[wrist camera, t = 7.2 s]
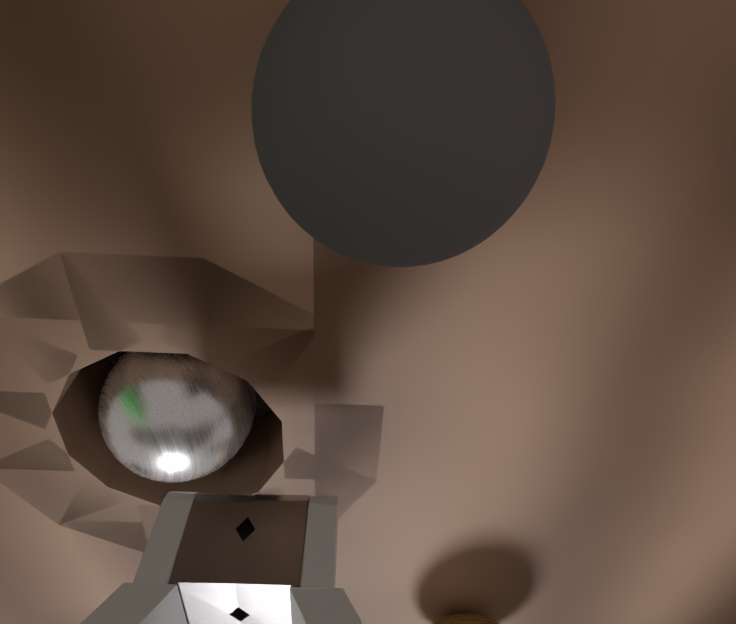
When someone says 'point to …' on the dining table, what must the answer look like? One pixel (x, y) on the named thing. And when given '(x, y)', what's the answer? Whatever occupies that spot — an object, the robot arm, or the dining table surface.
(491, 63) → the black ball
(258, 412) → the dining table surface
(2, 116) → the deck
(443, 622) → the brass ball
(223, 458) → the steel ball
